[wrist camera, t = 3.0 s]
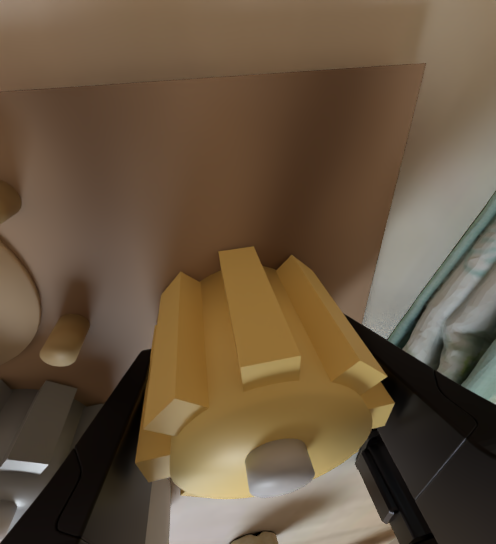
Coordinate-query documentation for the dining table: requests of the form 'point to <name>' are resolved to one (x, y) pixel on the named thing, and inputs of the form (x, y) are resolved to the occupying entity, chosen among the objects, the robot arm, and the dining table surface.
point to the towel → (459, 312)
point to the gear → (35, 442)
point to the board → (183, 202)
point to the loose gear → (255, 382)
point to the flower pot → (257, 539)
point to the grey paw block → (159, 513)
